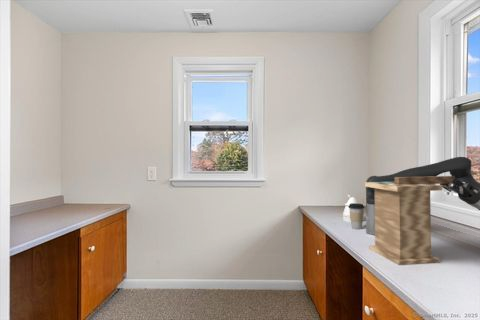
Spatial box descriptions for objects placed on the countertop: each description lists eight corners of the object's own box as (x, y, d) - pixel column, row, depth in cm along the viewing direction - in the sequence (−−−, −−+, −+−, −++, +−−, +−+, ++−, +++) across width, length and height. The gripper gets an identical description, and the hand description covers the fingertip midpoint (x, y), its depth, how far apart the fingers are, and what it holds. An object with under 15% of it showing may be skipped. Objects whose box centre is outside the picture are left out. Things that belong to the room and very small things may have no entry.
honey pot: (344, 222, 201) (344, 196, 201) (341, 218, 214) (341, 194, 214) (364, 222, 199) (364, 196, 199) (360, 219, 212) (359, 194, 212)
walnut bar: (449, 182, 130) (449, 176, 130) (455, 183, 127) (455, 176, 127) (394, 184, 127) (394, 177, 127) (399, 184, 124) (399, 177, 124)
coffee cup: (364, 227, 187) (363, 203, 187) (365, 230, 178) (365, 205, 178) (348, 226, 190) (348, 202, 190) (348, 229, 181) (348, 205, 181)
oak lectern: (404, 246, 145) (403, 180, 145) (443, 263, 121) (442, 184, 121) (365, 248, 143) (365, 181, 143) (398, 265, 119) (397, 185, 119)
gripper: (463, 188, 137) (436, 171, 135) (493, 191, 123) (463, 172, 121) (456, 202, 137) (428, 185, 135) (485, 207, 123) (454, 188, 121)
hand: (444, 179), depth 128 cm, fingers open, 8 cm apart
